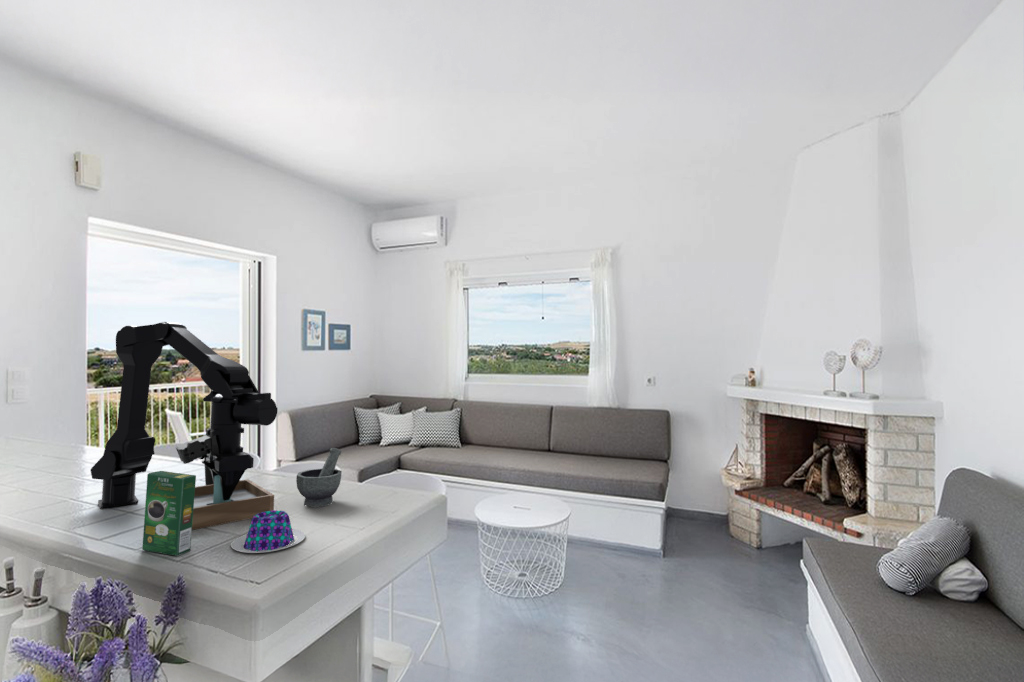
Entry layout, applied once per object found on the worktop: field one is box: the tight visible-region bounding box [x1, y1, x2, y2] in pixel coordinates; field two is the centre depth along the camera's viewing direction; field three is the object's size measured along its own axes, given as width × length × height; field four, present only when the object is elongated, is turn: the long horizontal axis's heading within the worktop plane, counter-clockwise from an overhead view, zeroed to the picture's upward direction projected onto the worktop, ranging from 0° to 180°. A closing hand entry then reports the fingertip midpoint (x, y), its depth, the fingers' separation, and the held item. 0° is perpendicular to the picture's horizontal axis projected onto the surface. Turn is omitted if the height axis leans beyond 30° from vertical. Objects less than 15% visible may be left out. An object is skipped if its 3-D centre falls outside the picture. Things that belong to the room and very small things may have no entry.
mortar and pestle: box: [295, 447, 342, 508], centre depth 111 cm, size 11×9×12 cm
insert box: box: [192, 478, 275, 531], centre depth 103 cm, size 18×16×4 cm
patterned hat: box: [230, 509, 306, 554], centre depth 86 cm, size 12×12×5 cm
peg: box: [213, 475, 231, 504], centre depth 101 cm, size 3×3×8 cm
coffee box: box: [142, 470, 197, 557], centre depth 82 cm, size 8×3×13 cm, turn 75°
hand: (222, 497), depth 101 cm, fingers open, 5 cm apart
